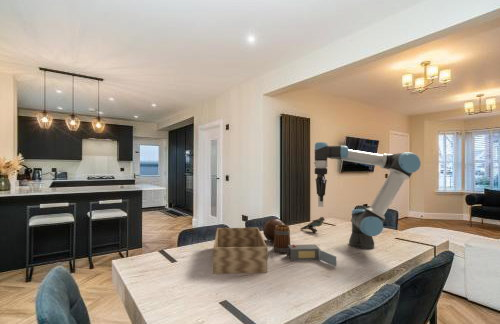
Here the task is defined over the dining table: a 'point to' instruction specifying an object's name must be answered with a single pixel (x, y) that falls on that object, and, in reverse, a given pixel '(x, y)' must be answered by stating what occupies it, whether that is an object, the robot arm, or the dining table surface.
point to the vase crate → (239, 251)
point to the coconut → (271, 229)
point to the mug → (281, 238)
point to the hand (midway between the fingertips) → (320, 206)
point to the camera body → (303, 252)
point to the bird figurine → (314, 224)
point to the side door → (327, 257)
